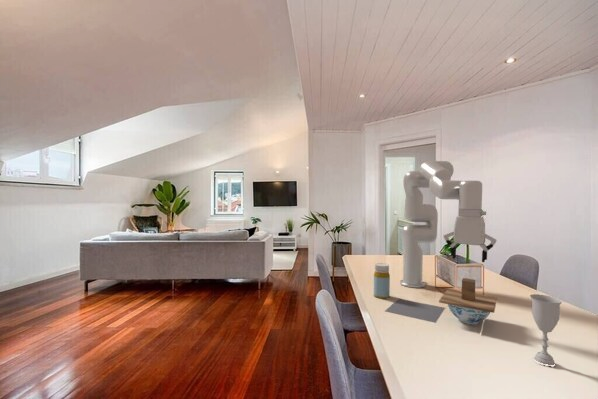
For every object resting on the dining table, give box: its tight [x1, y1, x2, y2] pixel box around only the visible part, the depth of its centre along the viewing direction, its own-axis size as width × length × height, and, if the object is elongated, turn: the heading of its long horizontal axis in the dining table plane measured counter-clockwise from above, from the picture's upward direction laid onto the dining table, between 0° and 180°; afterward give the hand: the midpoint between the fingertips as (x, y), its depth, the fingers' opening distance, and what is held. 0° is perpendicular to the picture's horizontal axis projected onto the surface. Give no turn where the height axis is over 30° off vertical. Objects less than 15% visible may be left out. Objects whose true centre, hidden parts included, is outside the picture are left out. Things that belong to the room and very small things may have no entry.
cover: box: [438, 277, 498, 313], centre depth 115 cm, size 17×17×8 cm
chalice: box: [529, 294, 563, 365], centre depth 87 cm, size 7×7×18 cm
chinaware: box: [447, 304, 491, 325], centre depth 115 cm, size 15×15×8 cm
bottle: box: [373, 262, 391, 300], centre depth 142 cm, size 7×7×15 cm
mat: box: [384, 298, 446, 323], centre depth 126 cm, size 19×19×1 cm
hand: (468, 259), depth 116 cm, fingers open, 9 cm apart
